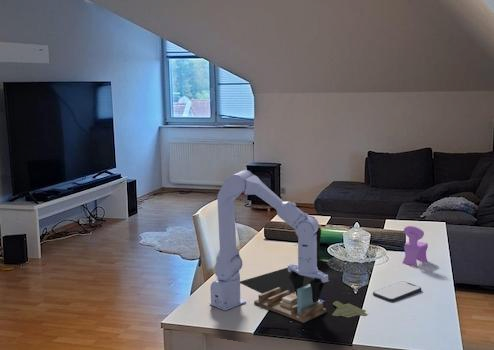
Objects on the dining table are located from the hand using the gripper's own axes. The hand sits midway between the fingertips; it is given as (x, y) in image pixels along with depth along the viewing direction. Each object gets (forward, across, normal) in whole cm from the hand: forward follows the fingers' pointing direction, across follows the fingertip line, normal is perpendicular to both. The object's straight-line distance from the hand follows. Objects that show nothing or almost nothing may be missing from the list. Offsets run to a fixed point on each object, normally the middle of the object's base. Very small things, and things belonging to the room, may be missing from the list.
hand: (307, 298), depth 179 cm
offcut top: (+3, +7, 0) cm, 7 cm away
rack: (+5, +7, 0) cm, 9 cm away
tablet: (+6, +24, -16) cm, 29 cm away
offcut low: (+4, +7, 0) cm, 8 cm away
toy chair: (+5, +1, -66) cm, 66 cm away
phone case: (+6, -11, -34) cm, 36 cm away
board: (+4, 0, 0) cm, 4 cm away
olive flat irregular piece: (+6, -10, -9) cm, 15 cm away
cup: (+5, +34, -43) cm, 55 cm away
